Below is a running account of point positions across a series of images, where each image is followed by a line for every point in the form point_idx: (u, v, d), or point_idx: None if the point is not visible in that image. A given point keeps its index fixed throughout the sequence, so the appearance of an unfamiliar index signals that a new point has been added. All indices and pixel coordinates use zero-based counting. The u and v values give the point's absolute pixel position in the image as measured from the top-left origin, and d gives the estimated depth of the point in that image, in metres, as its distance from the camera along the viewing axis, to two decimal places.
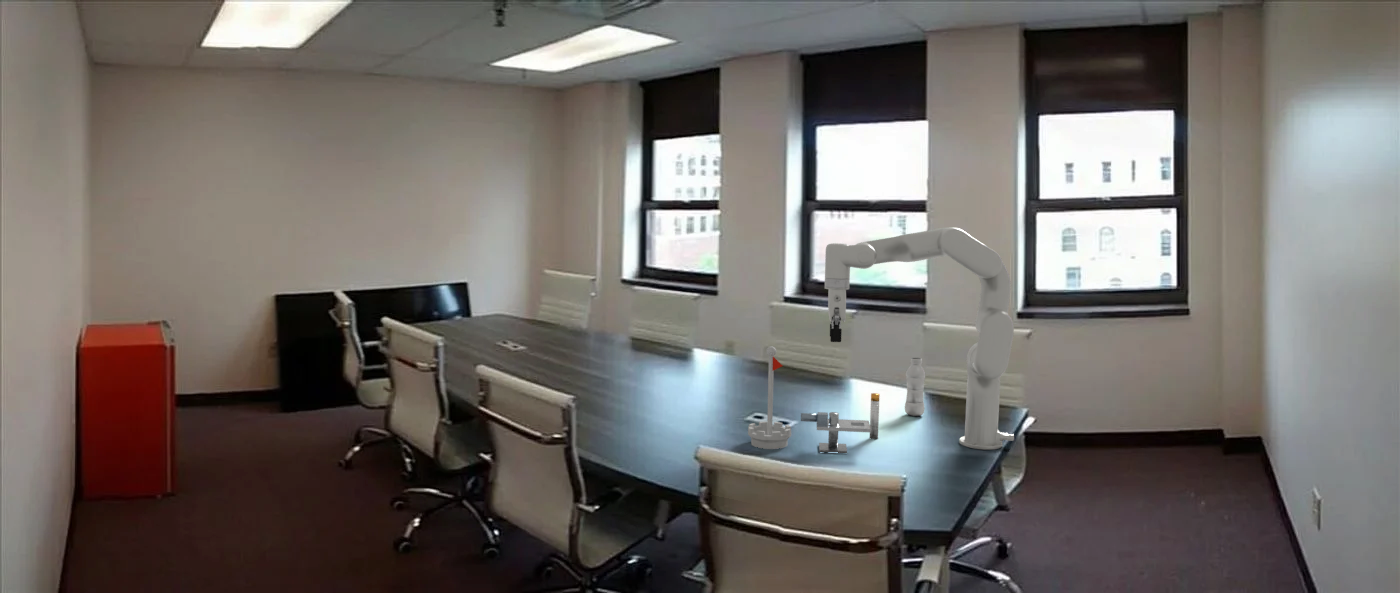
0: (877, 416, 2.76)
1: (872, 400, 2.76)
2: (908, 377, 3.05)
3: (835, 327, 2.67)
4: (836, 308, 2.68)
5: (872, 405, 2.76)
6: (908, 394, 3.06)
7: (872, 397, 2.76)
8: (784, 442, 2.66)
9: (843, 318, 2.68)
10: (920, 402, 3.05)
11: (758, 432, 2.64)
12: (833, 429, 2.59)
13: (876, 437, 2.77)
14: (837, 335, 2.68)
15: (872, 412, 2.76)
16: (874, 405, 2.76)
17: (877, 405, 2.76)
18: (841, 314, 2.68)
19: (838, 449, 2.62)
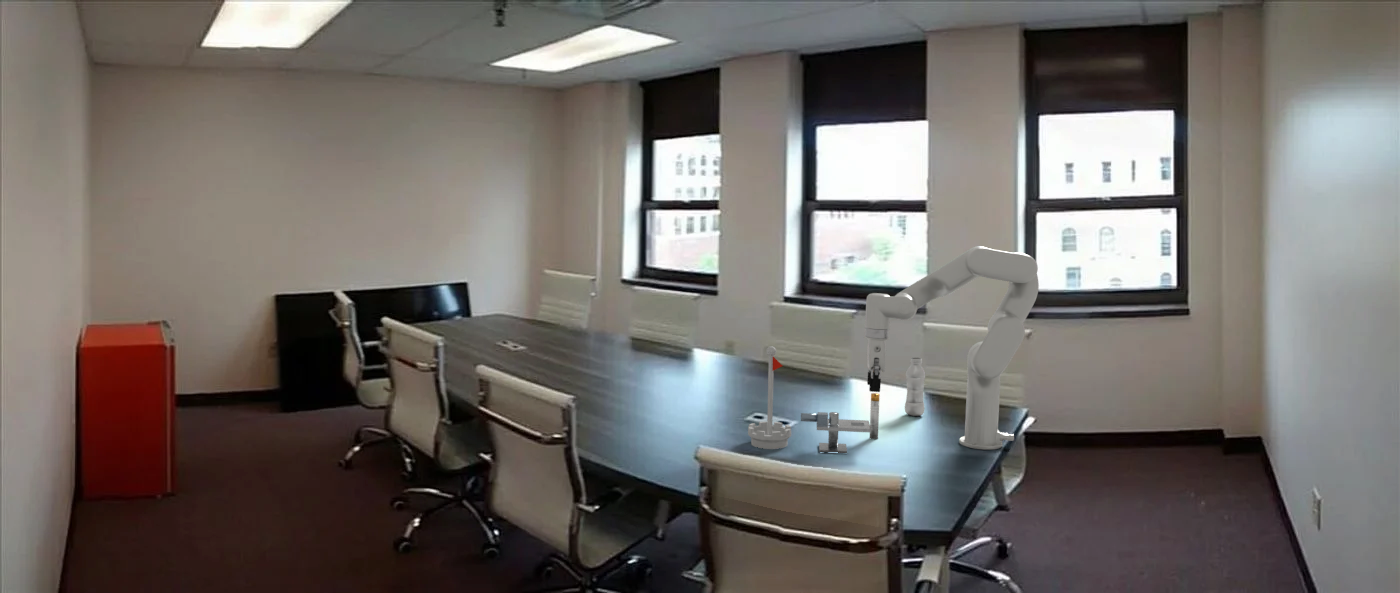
0: (877, 416, 2.76)
1: (872, 400, 2.76)
2: (908, 377, 3.05)
3: (875, 377, 2.70)
4: (876, 358, 2.70)
5: (872, 405, 2.76)
6: (908, 394, 3.06)
7: (872, 397, 2.76)
8: (784, 442, 2.66)
9: (883, 368, 2.70)
10: (920, 402, 3.05)
11: (758, 432, 2.64)
12: (833, 429, 2.59)
13: (876, 437, 2.77)
14: (876, 385, 2.70)
15: (872, 412, 2.76)
16: (874, 405, 2.76)
17: (877, 405, 2.76)
18: (881, 364, 2.70)
19: (838, 449, 2.62)
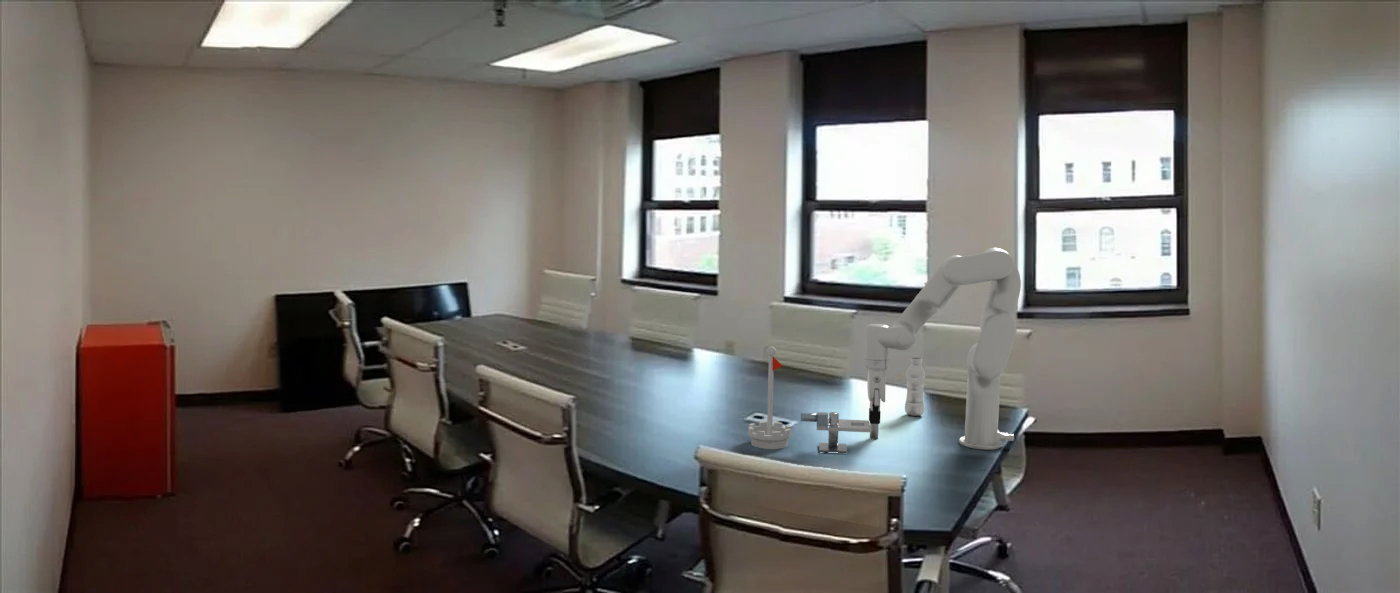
0: None
1: None
2: (908, 377, 3.05)
3: (874, 410, 2.74)
4: (876, 392, 2.72)
5: None
6: (908, 394, 3.06)
7: None
8: (784, 442, 2.66)
9: (883, 399, 2.71)
10: (920, 402, 3.05)
11: (758, 432, 2.64)
12: (833, 429, 2.59)
13: (876, 437, 2.77)
14: (876, 417, 2.75)
15: None
16: None
17: None
18: (881, 395, 2.71)
19: (838, 449, 2.62)
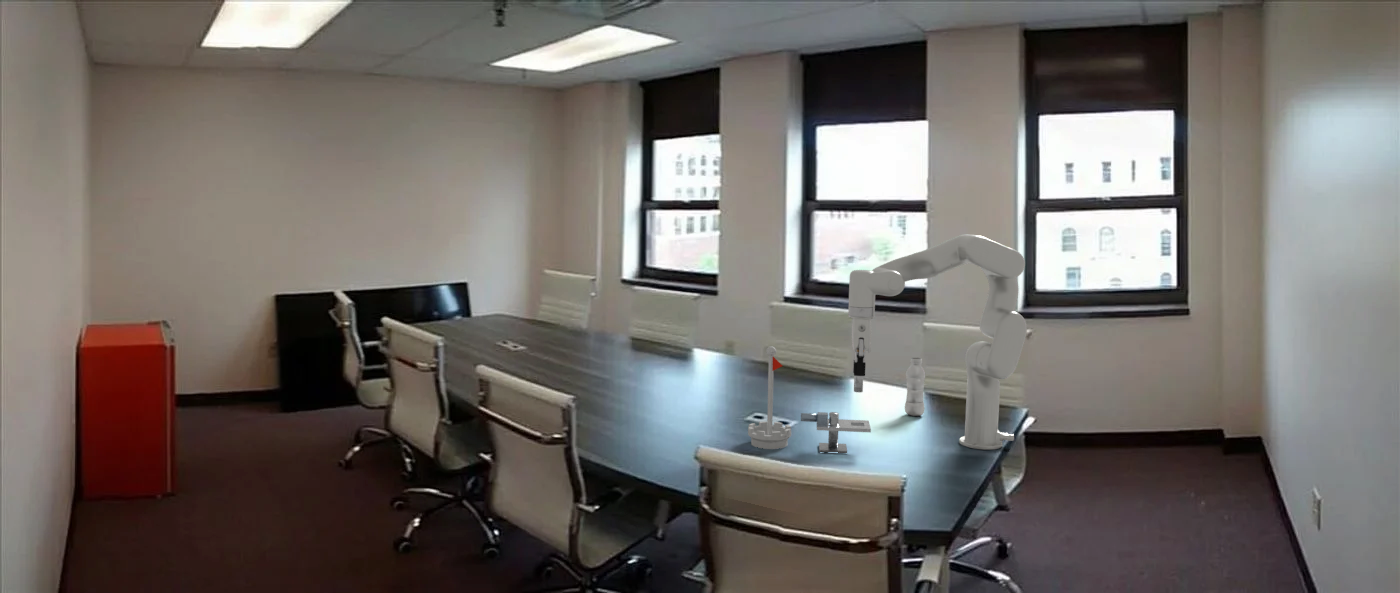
0: None
1: None
2: (908, 377, 3.05)
3: (859, 361, 2.58)
4: (860, 341, 2.56)
5: None
6: (908, 394, 3.06)
7: None
8: (784, 442, 2.66)
9: (868, 349, 2.55)
10: (920, 402, 3.05)
11: (758, 432, 2.64)
12: (833, 429, 2.59)
13: (861, 390, 2.61)
14: (861, 369, 2.59)
15: None
16: None
17: None
18: (866, 344, 2.55)
19: (838, 449, 2.62)
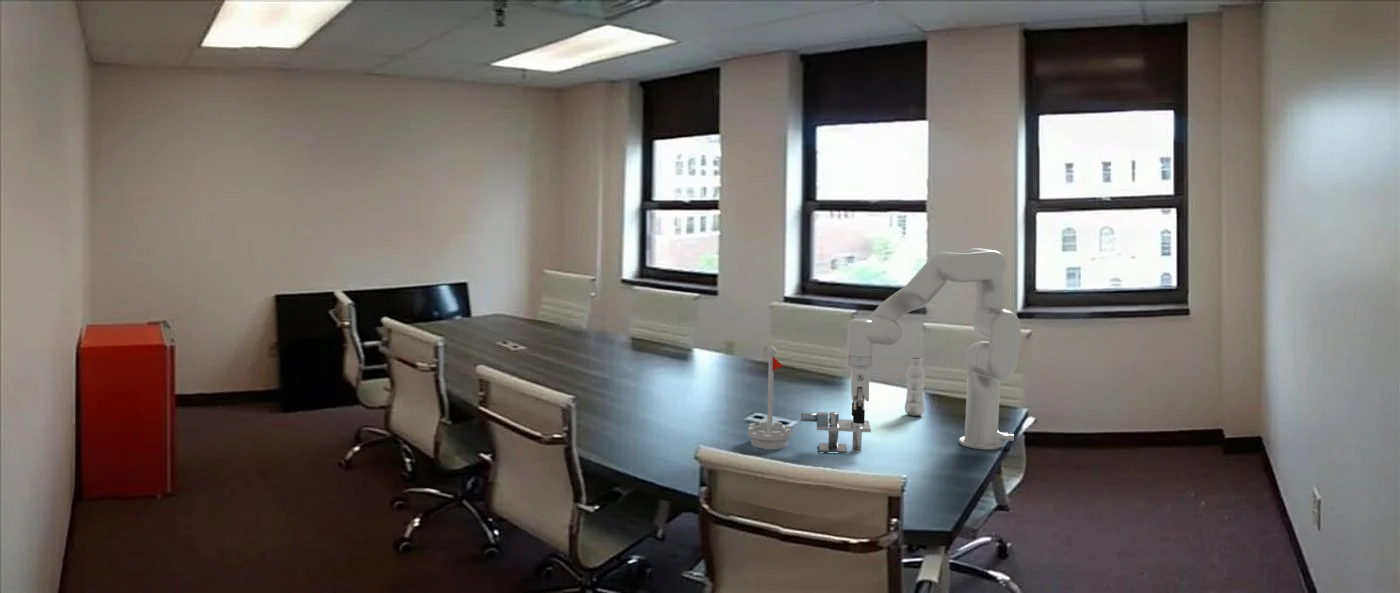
0: None
1: None
2: (908, 377, 3.05)
3: (858, 408, 2.57)
4: (859, 388, 2.57)
5: None
6: (908, 394, 3.06)
7: None
8: (784, 442, 2.66)
9: (866, 398, 2.57)
10: (920, 402, 3.05)
11: (758, 432, 2.64)
12: (833, 429, 2.59)
13: (859, 450, 2.63)
14: (860, 416, 2.57)
15: (855, 423, 2.62)
16: None
17: None
18: (864, 394, 2.57)
19: (838, 449, 2.62)
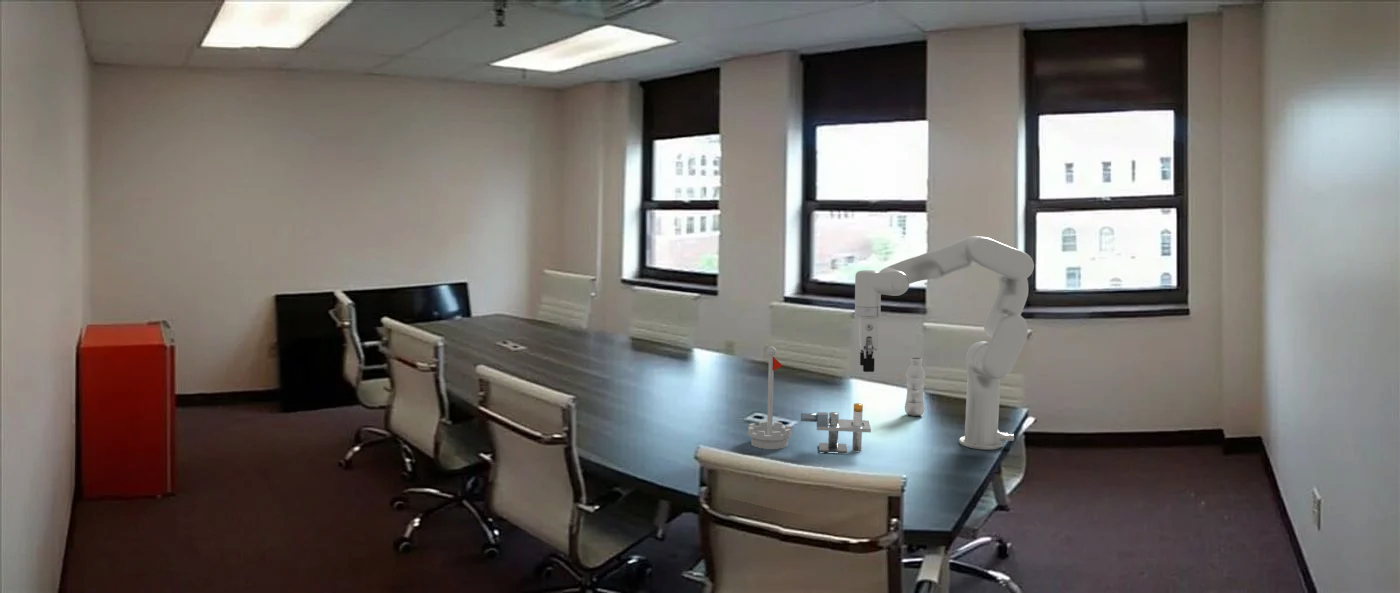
0: None
1: (855, 411, 2.62)
2: (908, 377, 3.05)
3: (868, 357, 2.61)
4: (868, 337, 2.61)
5: (855, 416, 2.62)
6: (908, 394, 3.06)
7: (855, 407, 2.62)
8: (784, 442, 2.66)
9: (876, 347, 2.62)
10: (920, 402, 3.05)
11: (758, 432, 2.64)
12: (833, 429, 2.59)
13: (859, 450, 2.63)
14: (870, 365, 2.61)
15: (855, 423, 2.62)
16: (856, 416, 2.62)
17: (860, 416, 2.62)
18: (874, 343, 2.61)
19: (838, 449, 2.62)
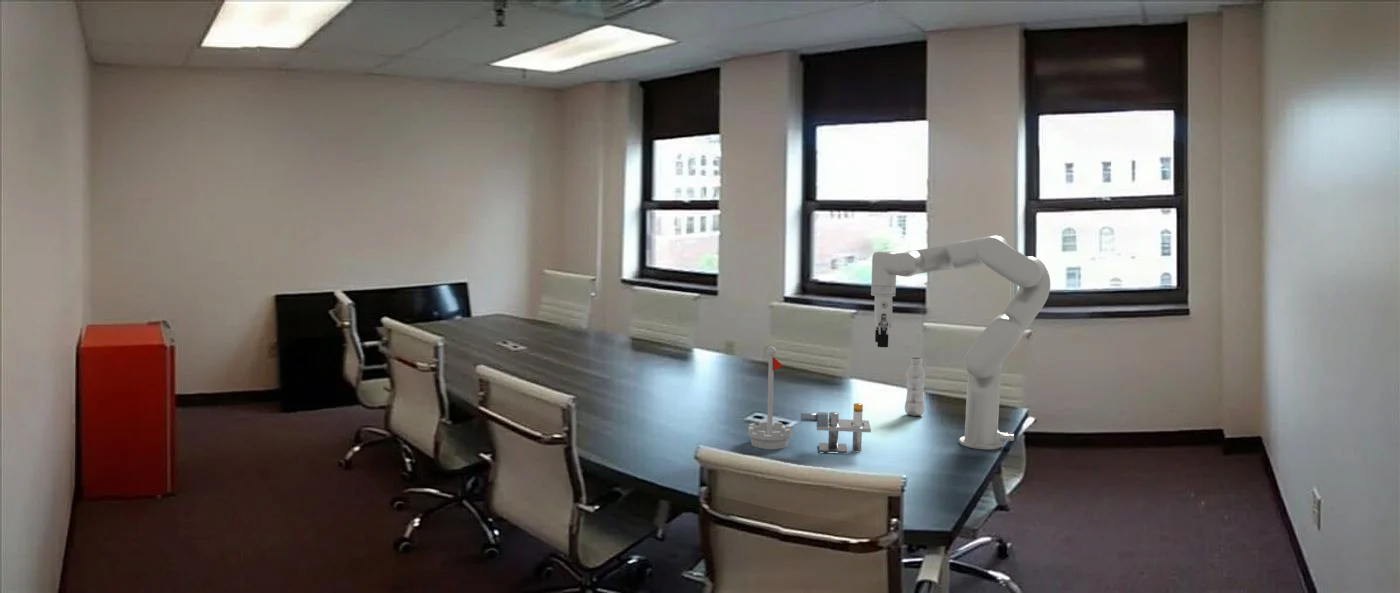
0: None
1: (855, 411, 2.62)
2: (908, 377, 3.05)
3: (882, 333, 2.76)
4: (883, 314, 2.76)
5: (855, 416, 2.62)
6: (908, 394, 3.06)
7: (855, 407, 2.62)
8: (784, 442, 2.66)
9: (890, 324, 2.77)
10: (920, 402, 3.05)
11: (758, 432, 2.64)
12: (833, 429, 2.59)
13: (859, 450, 2.63)
14: (884, 340, 2.77)
15: (855, 423, 2.62)
16: (856, 416, 2.62)
17: (860, 416, 2.62)
18: (888, 320, 2.76)
19: (838, 449, 2.62)
